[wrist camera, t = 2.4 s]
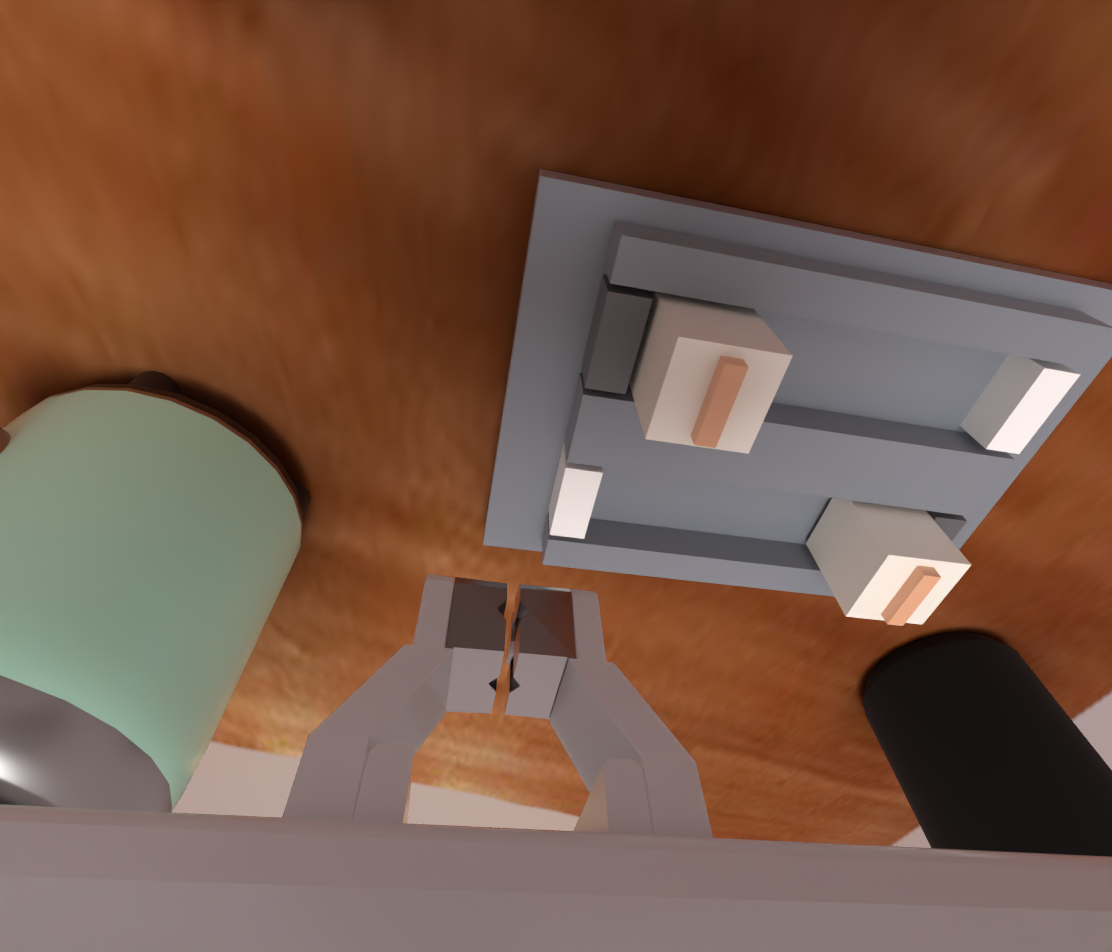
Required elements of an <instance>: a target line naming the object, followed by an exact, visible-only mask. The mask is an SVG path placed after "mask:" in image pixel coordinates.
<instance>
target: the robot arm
mask: <svg viewBox="0 0 1112 952" xmlns="http://www.w3.org/2000/svg"><path fill="white" fill-rule="evenodd" d="M453 587H454V589H453ZM452 595H453V596H452ZM506 601H507V584H506V583H498V582H490V581H482V580H475V579H467V578H459V577H455V582H454V577H448V576H440V575H432V574H428V575H427V578H426V580H425V585H424V590H423V595H422V600H421V606H420V611H419V616H418V621H417V626H416V632H415V637H414V642H413V645H407V644H405V645H404V646H403V647H401V648H400V649H399V650H398V651H397V652H396V653H395V654H394V655H393V656H392V657H391V658H390V659H389V660H388V661H387V662H386V663H385V664H384V665H382V666H381V667H380V668H379V669H378V670H377V671H376V672H375V673H374V674H373V675H372V676H371V677H370V678H369V679H368V680H367V681H366V682H365V683H364V684H362V685H361V686H360V687H359V688H358V689H357V690H356V691H355V692H354V693H353V694H352V695H351V696H350V697H349V698H348V699H347V700H346V701H345V702H343V703H342V704H341V705H340V706H339V707H338V708H337V709H336V710H335V711H334V712H333V713H332V714H331V715H330V716H329V717H328V718H327V719H326V720H324V721H323V722H322V723H321V724H320V725H319V726H318V727H317V728H316V729H315V730H314V731H313V732H312V733H311V734H310V735H309V736H308V739H307V742H306V745H305V748H304V751H303V754H302V758H301V761H300V764H299V767H298V770H297V773H296V776H295V779H294V782H293V786H292V788H291V792H290V795H289V798H288V801H287V804H286V807H285V810H284V813H283V816H282V818H277V817H256V816H255V817H254V816H235V815H213V814H190V813H171V812H149V811H128V810H107V809H86V808H65V807H44V806H23V805H2V804H0V952H1112V857H1107V856H1086V855H1065V854H1044V853H1022V852H1001V851H979V850H958V849H937V848H915V847H914V848H913V847H894V846H873V845H851V844H830V843H808V842H787V841H766V840H744V839H723V838H713V836H712V831H711V827H710V823H709V818H708V814H707V810H706V805H705V801H704V797H703V792H702V788H701V783H700V779H699V775H698V770H697V766H696V762H695V761H694V759H693V758H692V757H691V756H690V755H689V753H688V752H687V751H686V750H685V748H684V747H683V746H682V745H681V744H680V742H679V741H678V740H677V739H676V738H675V736H674V735H673V734H672V733H671V731H670V730H669V729H668V728H667V727H666V725H665V724H664V723H663V722H662V721H661V719H660V718H659V717H658V716H657V714H656V713H655V712H654V711H653V710H652V708H651V707H650V706H649V705H648V704H647V702H646V701H645V700H644V699H643V697H642V696H641V695H640V694H639V693H638V691H637V690H636V689H635V688H634V687H633V685H632V684H631V683H630V682H629V680H628V679H627V678H626V677H625V676H624V674H623V673H622V672H621V671H620V670H619V668H618V667H617V666H616V665H615V663H612V662H606V655H605V648H604V640H603V632H602V624H601V616H600V609H599V601H598V595H597V594H596V592H594V591H583V590H573V589H570V590H569V589H564V588H553V587H542V586H532V585H521V584H519V586H518V588H517V593H516V597H515V612H514V613H512V616H511V621H510V627H509V634H508V643H507V660H506V662H507V664H508V665H509V669H508V674H507V679H506V687H505V714H506V715H516V716H525V717H535V718H545V719H549V722H550V724H551V726H552V727H553V729H554V731H555V733H556V734H557V736H558V738H559V740H560V741H561V743H562V745H563V747H564V748H565V750H566V752H567V754H568V756H569V757H570V759H571V761H572V763H573V764H574V766H575V768H576V770H577V771H578V773H579V775H580V777H581V778H582V780H583V782H584V784H585V785H586V787H587V789H588V791H589V792H590V795H589V798H588V800H587V802H586V804H585V806H584V809H583V811H582V813H581V815H580V817H579V820H578V822H577V824H576V826H575V829H574V831H554V830H533V829H511V828H491V827H469V826H448V825H447V826H446V825H426V824H407V817H408V807H409V796H410V785H411V775H412V764H413V755H414V754H415V753H416V752H417V750H418V749H419V748H420V746H421V745H422V744H423V742H424V741H425V740H426V738H427V737H428V736H429V735H430V733H431V732H432V731H433V729H434V728H435V727H436V725H437V724H438V723H439V721H440V720H441V719H442V718H443V716H444V715H445V711H450V712H472V713H491V712H492V707H493V703H494V698H495V694H496V683H497V677H499V675H500V670H501V665H502V660H503V655H504V647H505V628H506V619H505V618H504V611H505V606H506Z"/></svg>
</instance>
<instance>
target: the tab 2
mask: <svg viewBox="0 0 1112 952" xmlns="http://www.w3.org/2000/svg"><path fill="white" fill-rule="evenodd" d="M806 545H807V547H808V548H809V550H810V552H811V554H812V556H813V558H814V559H815V561H816V563H817V565H818V567H819V569H820V570H821V572H822V574H823V576H824V578H825V580H826V581H827V583H828V585H829V587H830V589H831V591H832V592H833V594H834V596H835V598H836V600H837V601H838V603H839V605H840V607H841V609H842V611H843V612H844V614H845V616H846V617H856V618H865V619H875V620H885V621H886V623H887V624H890V625H900V626H903V625H904V624H905V623H913V624H923V623H924V622H925V621H926V620H927V618H928V617H929V616H930V615H931V613H932V612H933V611H934V610H935V609H936V607H937V606H938V605H939V604H940V603H941V601H942V600H943V599H944V598H945V596H946V595H947V594H948V593H949V592H950V590H951V589H952V588H953V587H954V586H955V584H956V583H957V582H958V581H959V579H960V578H961V577H962V576H963V575H964V573H965V572H966V571H967V570H968V568H969V567H970V566H971V564H970V563H969V561H968V560H967V559H966V558H965V557H964V555H963V554H962V553H961V552H960V551H959V549H958V548H957V547H956V546H955V545H954V543H953V542H952V541H951V540H950V539H949V538H948V536H947V535H946V534H945V533H944V532H943V530H942V529H941V528H940V527H939V526H938V524H937V523H936V522H935V521H934V520H933V518H932V517H931V516H930V515H929V514H928V513H927V511H926V510H918V509H911V508H903V507H896V506H888V505H881V504H874V503H866V502H859V501H851V500H844V499H836V498H832V499H831V501H830V503H829V505H828V506H827V508H826V510H825V511H824V513H823V515H822V517H821V518H820V520H819V522H818V524H817V525H816V527H815V529H814V530H813V532H812V534H811V536H810V537H809V539H808V541H807V542H806Z"/></svg>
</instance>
